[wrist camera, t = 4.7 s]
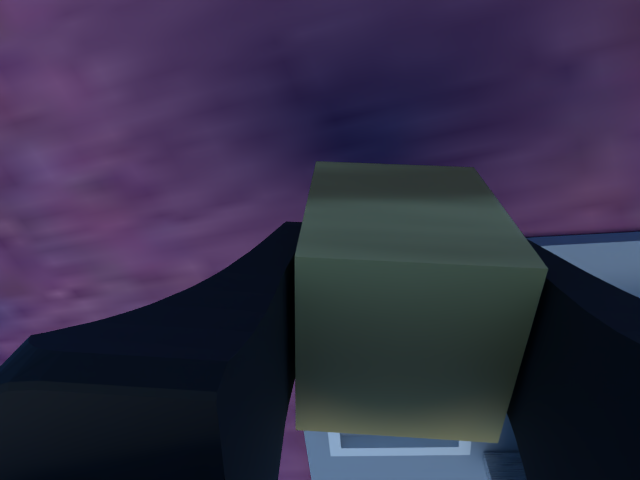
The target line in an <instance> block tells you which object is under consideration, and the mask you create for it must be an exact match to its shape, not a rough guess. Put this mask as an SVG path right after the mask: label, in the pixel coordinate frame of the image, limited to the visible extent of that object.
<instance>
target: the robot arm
mask: <svg viewBox="0 0 640 480" xmlns="http://www.w3.org/2000/svg"><path fill="white" fill-rule="evenodd" d="M301 226H302V222H285V223H284V224H282V225H281V226H280V227H279V228H278V229H277V230H275V231H274V232H273V233H272V234H271V235H270V236H268V237H267V238H266V239H265V240H264V241H262V242H261V243H260V244H259V245H257V246H256V247H255V248H254V249H252V250H251V251H250V252H248V253H247V254H245V255H244V256H243V257H241V258H240V259H238V260H237V261H235V262H234V263H232V264H231V265H230V266H228V267H227V268H225V269H224V270H222V271H220V272H219V273H217V274H215V275H213V276H212V277H210V278H208V279H206V280H204V281H202V282H200V283H198V284H197V285H195V286H193V287H191V288H188V289H186V290H184V291H181V292H179V293H177V294H174V295H172V296H169V297H167V298H165V299H162V300H160V301H158V302H155V303H153V304H150V305H147V306H144V307H141V308H138V309H135V310H132V311H129V312H126V313H123V314H119V315H116V316H113V317H109V318H106V319H102V320H98V321H94V322H91V323H86V324H82V325H77V326H73V327H68V328H64V329H59V330H55V331H50V332H46V333H41V334H35V335H31V336H30V337H29V338H28V339H27V340H26V341H25V342H24V343H23V344H22V345H21V346H20V347H19V348H18V349H17V350H16V351H15V352H14V353H13V354H12V355H11V356H10V357H9V358H8V359H7V360H6V361H5V362H4V363H3V364H2V365H1V366H0V480H278V474H279V466H280V459H281V451H282V443H283V436H284V428H285V421H286V416H287V411H288V405H289V401H290V397H291V393H292V389H293V384H294V380H295V253H296V248H297V244H298V239H299V235H300V230H301ZM527 241H528V242H529V243H530V245H531V246H532V247H533V249H534V250H535V251H536V253H537V254H538V256H539V257H540V258H541V260H542V261H543V262H544V264H545V265H546V266H547V268H548V272H547V275H546V278H545V282H544V285H543V289H542V292H541V296H540V299H539V303H538V306H537V310H536V313H535V317H534V320H533V323H532V327H531V330H530V334H529V337H528V341H527V344H526V348H525V351H524V355H523V358H522V362H521V365H520V368H519V372H518V375H517V379H516V382H515V386H514V389H513V393H512V396H511V400H510V403H509V407H508V410H507V415H508V418H509V421H510V424H511V426H512V429H513V432H514V435H515V438H516V442H517V446H518V449H519V453H520V457H521V460H522V464H523V467H524V471H525V475H526V478H527V480H640V298H639V297H637V296H634V295H632V294H630V293H628V292H626V291H623V290H621V289H619V288H617V287H615V286H613V285H611V284H609V283H607V282H605V281H603V280H601V279H599V278H597V277H595V276H593V275H592V274H590V273H588V272H586V271H584V270H582V269H580V268H578V267H577V266H575V265H573V264H571V263H569V262H568V261H566V260H564V259H562V258H560V257H559V256H557V255H555V254H553V253H552V252H550V251H548V250H546V249H545V248H543V247H541V246H539V245H537V244H536V243H534V242H532V241H530V240H528V239H527Z"/></svg>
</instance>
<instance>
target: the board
mask: <svg viewBox="0 0 640 480" xmlns="http://www.w3.org/2000/svg"><path fill="white" fill-rule="evenodd" d="M526 239H528V240H530V241H532V242H534V243H536V244H537V245H539V246H541V247H543V248H545V249H546V250H548V251H550V252H552V253H553V254H555V255H557V256H559V257H560V258H562V259H564V260H566V261H568V262H569V263H571V264H573V265H575V266H577V267H578V268H580V269H582V270H584V271H586V272H588V273H590V274H592V275H593V276H595V277H597V278H599V279H601V280H603V281H605V282H607V283H609V284H611V285H613V286H615V287H617V288H619V289H621V290H623V291H626V292H628V293H630V294H632V295H634V296H637V297H639V298H640V232H623V233H604V234H586V235H568V236H549V237H531V238H526ZM304 435H305V441H306V448H307V454H308V460H309V467H310V473H311V480H488V479H487V475H486V472H485V468H484V465H483V455H484V452H519V449H518V446H517V442H516V438H515V435H514V432H513V429H512V426H511V424H510V421H509V418H508V415H507V413H506V417H505V420H504V424H503V427H502V431H501V434H500V438H499V441H498V443H487V442H472V441H457V440H441V439H426V438H411V437H395V436H380V435H365V434H349V433H334V432H319V431H304Z"/></svg>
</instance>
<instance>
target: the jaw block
mask: <svg viewBox="0 0 640 480" xmlns="http://www.w3.org/2000/svg"><path fill="white" fill-rule="evenodd" d="M547 272H548V268H547V266H546V265H545V264H544V262H543V261H542V260H541V258H540V257H539V256H538V254H537V253H536V251H535V250H534V249H533V247H532V246H531V245H530V243H529V242H528V241H527V239H526V238H525V236H524V235H523V234H522V232H521V231H520V230H519V228H518V227H517V226H516V224H515V223H514V221H513V220H512V219H511V217H510V216H509V215H508V213H507V212H506V211H505V209H504V208H503V207H502V205H501V204H500V202H499V201H498V200H497V198H496V197H495V196H494V194H493V193H492V192H491V190H490V189H489V187H488V186H487V185H486V183H485V182H484V181H483V179H482V178H481V177H480V175H479V174H478V172H477V171H476V170H475V168H474V167H452V166H426V165H400V164H373V163H347V162H321V161H316V164H315V169H314V173H313V177H312V182H311V186H310V191H309V195H308V200H307V204H306V208H305V213H304V217H303V222H302V226H301V230H300V235H299V239H298V244H297V248H296V253H295V393H296V430H303V431H319V432H334V433H349V434H365V435H380V436H395V437H411V438H426V439H441V440H457V441H472V442H487V443H498V441H499V438H500V434H501V431H502V427H503V424H504V420H505V417H506V413H507V410H508V407H509V403H510V400H511V396H512V393H513V389H514V386H515V382H516V379H517V375H518V372H519V368H520V365H521V362H522V358H523V355H524V351H525V348H526V344H527V341H528V337H529V334H530V330H531V327H532V323H533V320H534V317H535V313H536V310H537V306H538V303H539V299H540V296H541V292H542V289H543V285H544V282H545V278H546V275H547Z"/></svg>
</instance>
